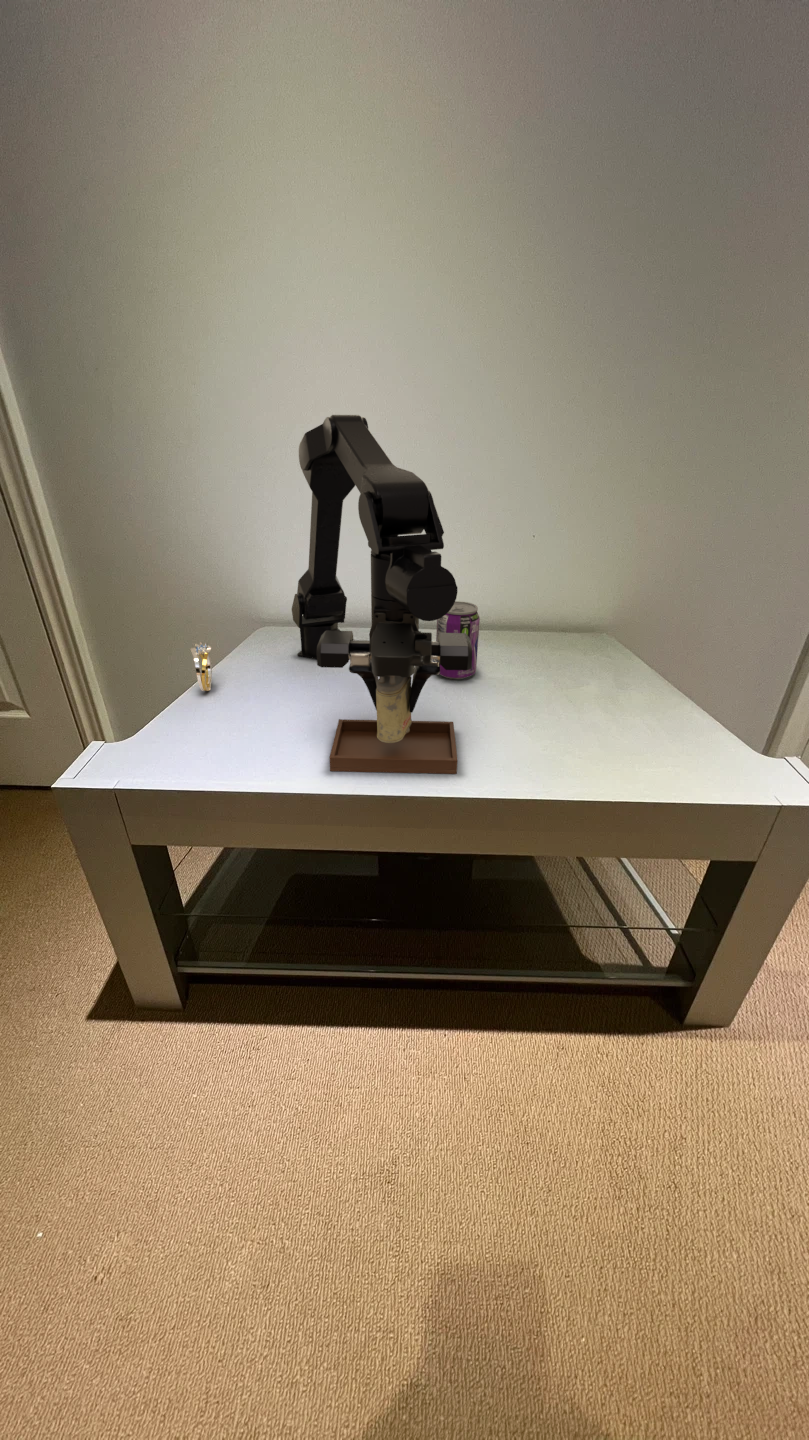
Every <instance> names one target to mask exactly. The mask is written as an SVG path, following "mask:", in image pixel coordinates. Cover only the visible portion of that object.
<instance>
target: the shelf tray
mask: <svg viewBox="0 0 809 1440" xmlns="http://www.w3.org/2000/svg"><path fill="white" fill-rule="evenodd" d="M454 723H455V722H454V721H447V720H446V721H443V720H441V721H440V720H412V724H411V725H410V727H409V729H410V732H409V733H406V734H405V735H404V737H403V739H402V740H400V741H398V742H395V743H385V742H382V741H380V740H379V739H378V738H377V719H345V718H344V719H341V718H340V719H338V722H337V726H336V730H335V734H334V737H333V741H332V746H331V749H330V753H329V771H330V772H342V773H343V772H346V773H347V772H348V773H350V772H351V773H391V774H393V773H395V774H396V773H397V774H398V773H399V774H434V775H435V774H437V775H438V774H440V775H441V774H442V775H443V774H444V775H457V774H458V753H457V741H456V733H455V725H454Z"/></svg>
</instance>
